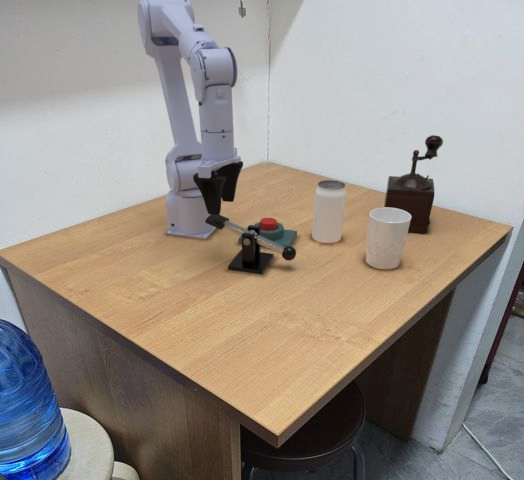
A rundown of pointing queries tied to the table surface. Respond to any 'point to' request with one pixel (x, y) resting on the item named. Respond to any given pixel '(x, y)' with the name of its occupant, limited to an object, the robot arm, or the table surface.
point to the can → (329, 211)
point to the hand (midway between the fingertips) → (221, 207)
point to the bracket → (251, 255)
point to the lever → (223, 222)
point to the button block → (277, 235)
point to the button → (268, 224)
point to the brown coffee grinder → (414, 190)
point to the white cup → (386, 237)
